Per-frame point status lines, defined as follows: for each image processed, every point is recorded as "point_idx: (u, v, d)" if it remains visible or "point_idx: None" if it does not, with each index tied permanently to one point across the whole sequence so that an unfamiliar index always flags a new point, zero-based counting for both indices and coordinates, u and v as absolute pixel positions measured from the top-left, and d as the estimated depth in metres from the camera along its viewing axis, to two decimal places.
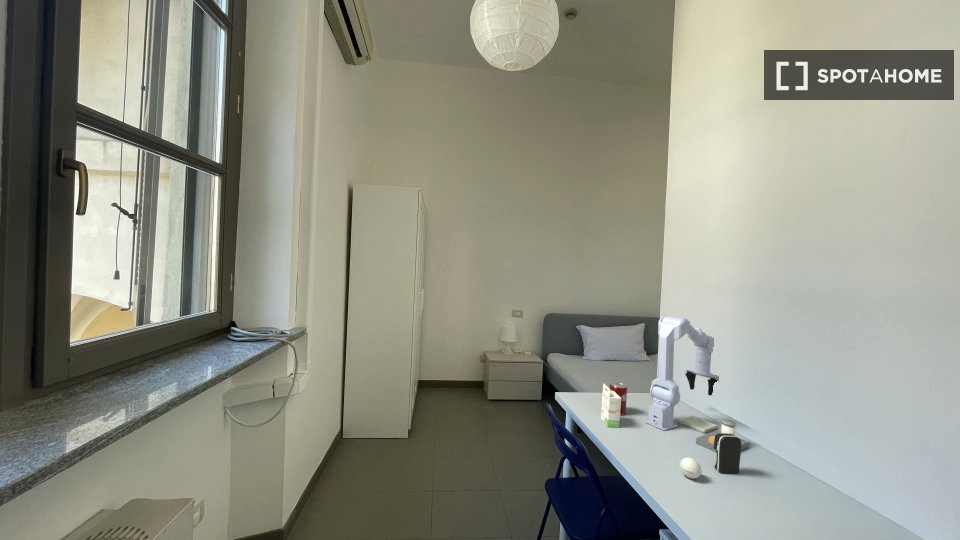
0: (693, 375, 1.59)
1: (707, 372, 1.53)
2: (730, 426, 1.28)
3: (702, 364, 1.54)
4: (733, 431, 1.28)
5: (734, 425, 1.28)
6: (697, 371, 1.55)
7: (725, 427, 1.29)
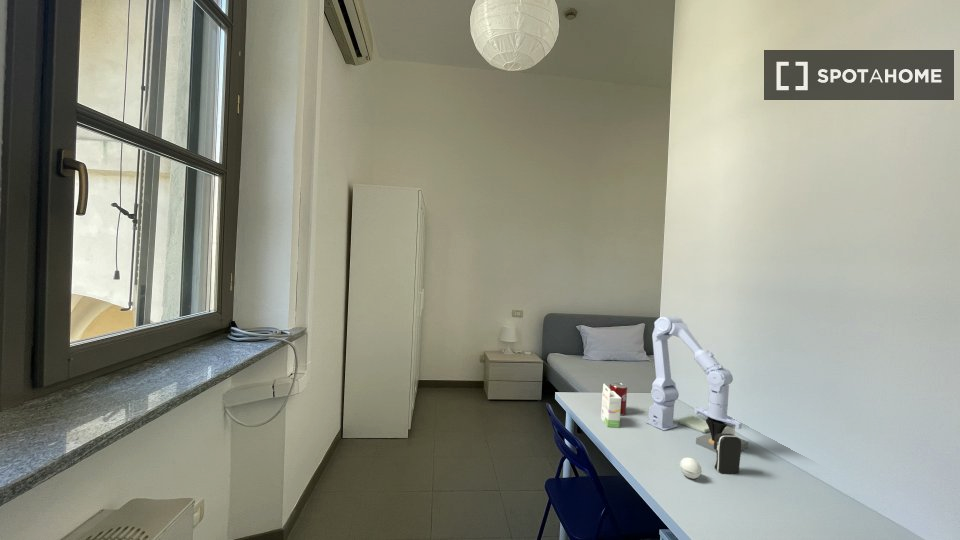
0: None
1: (723, 417, 1.22)
2: (730, 426, 1.28)
3: (717, 406, 1.23)
4: (733, 431, 1.28)
5: None
6: (711, 415, 1.24)
7: (725, 427, 1.29)
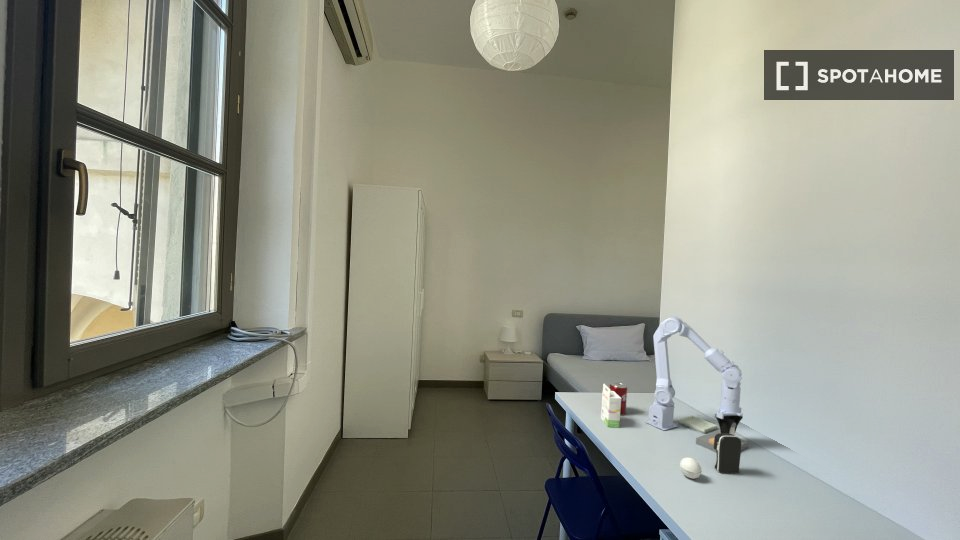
0: (732, 416, 1.31)
1: (722, 408, 1.29)
2: None
3: None
4: (733, 431, 1.28)
5: (734, 425, 1.28)
6: None
7: None
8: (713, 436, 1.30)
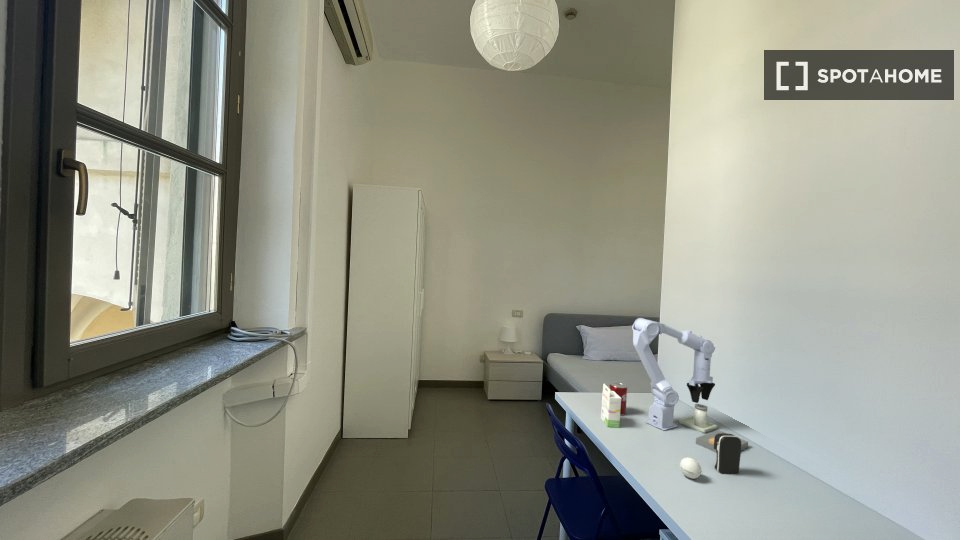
0: (706, 384, 1.45)
1: (695, 377, 1.43)
2: (701, 410, 1.40)
3: None
4: (704, 414, 1.41)
5: (705, 409, 1.40)
6: None
7: (697, 410, 1.42)
8: (713, 436, 1.30)
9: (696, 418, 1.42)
